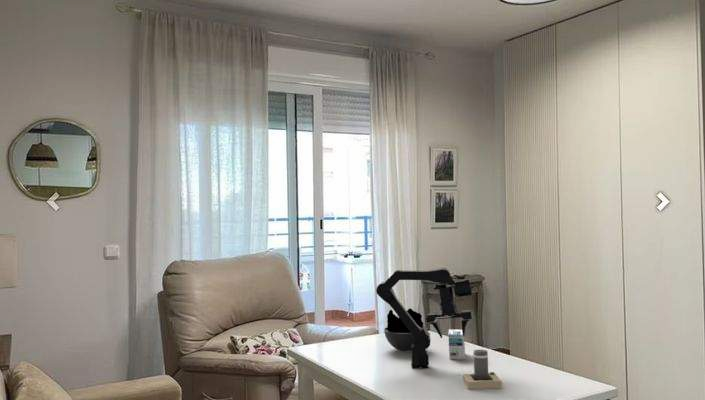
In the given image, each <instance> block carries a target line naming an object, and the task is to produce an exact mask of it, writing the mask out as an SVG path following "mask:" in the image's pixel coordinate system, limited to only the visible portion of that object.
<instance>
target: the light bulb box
mask: <svg viewBox="0 0 705 400" xmlns="http://www.w3.org/2000/svg"><path fill="white" fill-rule="evenodd" d="M447 337H448V353H449V355H448V356H449V358H448V359H449V360H465V359H466V358H465V357H466V348H465V336H464V337H463V333H462V329H451V328H450V329H448V336H447Z"/></svg>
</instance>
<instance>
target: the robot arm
mask: <svg viewBox="0 0 705 400" xmlns="http://www.w3.org/2000/svg"><path fill="white" fill-rule="evenodd" d="M399 281H430V282H434V283H435V285H434V286H433V290H435V291H436V290H438V297H439V302H440V303H439V305H440V307H439V308H440V311H441V313H440V314H438V312H429V313H427V315H426V316H425V321H426V323H429V325H432V326H433V327H434V329H435V330H436V331H437V333H438V335H439V336H440V339H443V332H442V328H441V325H440V324H441V323H440V320H446V319H456V318H462V319H461V330H462V333H463V337H464V338H465V335H466V330H467V324H468V322H469V321H470V320H472V319H473V318H474V310H472V309H465V310H464V309H463V310H462V311H461V312H459V306H458V304H457V303H456V301H455V297H454V296H456V297H458V298H467V297H472V296H473V294H472V287H471V285H470V280H469V279H468V278H467V279H466V278H465V279H464V280H462V279H461V280H456V279H455V278H453V277H452V275H451V273H450V270H448V268H445V267H440V268H434V269H429V270H403V269H402V270H401V269H396V270H395V271H394V272H393V273H392V274H391V275H390V276H389V278H387V279H386V280H385V281H381V282H380V283H379V284H378V285H377V287H376V289H375V290H376V291H375V292H376V294H377V295H378V296H379V297H380V299H381V300H383V302H385V303H387V304H388V306H389V305H390V307H391V310H393V312H395V315H396V316H397V317H398V318H400V319H401V320H402V322H403V323H404V324H405V325H406V327H407V328H408V329H409V331H410V332H411V334H412V337H413V339H414V341H415V342H414V343H413V344H412V348H411V351H410V355H411V356H410V357H411V363H410V365H411V369H428V368H429V365H430V363H429V362H430V361H429V354H428V351H427V349H429V347H430V346H431V341H432V340H431V336H430V335H431V333H430V332H429V330H428V331H427V330H426V329H425V327H426V326H425V325H423V327H422V328H421V327H419V326H418V325H417V324H416V322H415V321H414V320H413V319H412V317H411V316H410V315H409V313H408V312H407V309H405V307H404V305H403V304H402V303H401V302H400V301H399V299H398V297H397V295H396V292H395V291H394V289H393V288H394V286H396V285H397V283H398V282H399Z"/></svg>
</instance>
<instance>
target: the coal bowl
mask: <svg viewBox="0 0 705 400" xmlns="http://www.w3.org/2000/svg"><path fill="white" fill-rule="evenodd" d="M406 311H407V312H408V313H409V315H410V316H411V317H412V319H413V320H414V321H415V322H416V324H417V325H418V326H419V327H421V328H422V327H423V326H424V322H423V320H422V318H423V316H422V314H421V312H417V311H415V310H413V309H412V308H408V309H406ZM386 322H387V325H386V326H387V327H385V328H384V330H383V332H384V335H385V339H386V340H387V342H388V343H389V344H390V346H392V347H393V348H394V349H396V350H398V351H401V352H411V348H412V344H413V343H414V342H415V341H414V339H413V337H412V334H411V332H410V331H409V329H408V328H407V327H406V325H405V324H404V323H403V322H402V320H401V319H400V318H399V316H398V315H397V314H394V310H393V309H390V310H388V313H387V321H386ZM424 327H425V329H426V330H427V331H428V332H429V328H428V327H427V326H424Z"/></svg>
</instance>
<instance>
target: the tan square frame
mask: <svg viewBox="0 0 705 400" xmlns="http://www.w3.org/2000/svg"><path fill="white" fill-rule="evenodd" d="M488 377H489V380H477V381H475V376H474V373H462V382H463V383H464V385H465V386H466V388H467V389H468V390H481V389H482V390H484V389H485V390H486V389H502V388H503V385H502V380H501V379H500V377H499V376H498V375H497V374H496V373H495V372H494V371H490V372H488Z"/></svg>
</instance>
